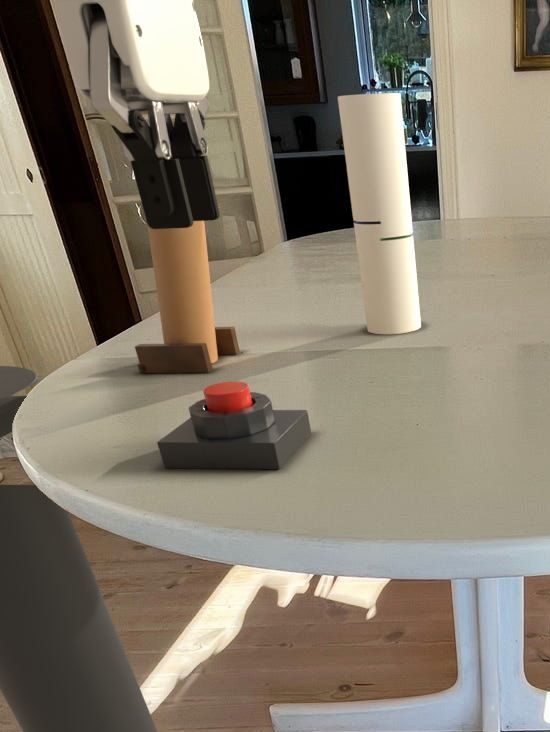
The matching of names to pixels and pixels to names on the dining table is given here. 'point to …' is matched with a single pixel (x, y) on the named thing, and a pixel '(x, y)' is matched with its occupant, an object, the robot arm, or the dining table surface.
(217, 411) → the button
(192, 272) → the paper roll
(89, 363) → the dining table surface
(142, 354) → the roll stand
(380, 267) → the cylindrical container
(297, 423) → the button box
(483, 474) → the dining table surface
